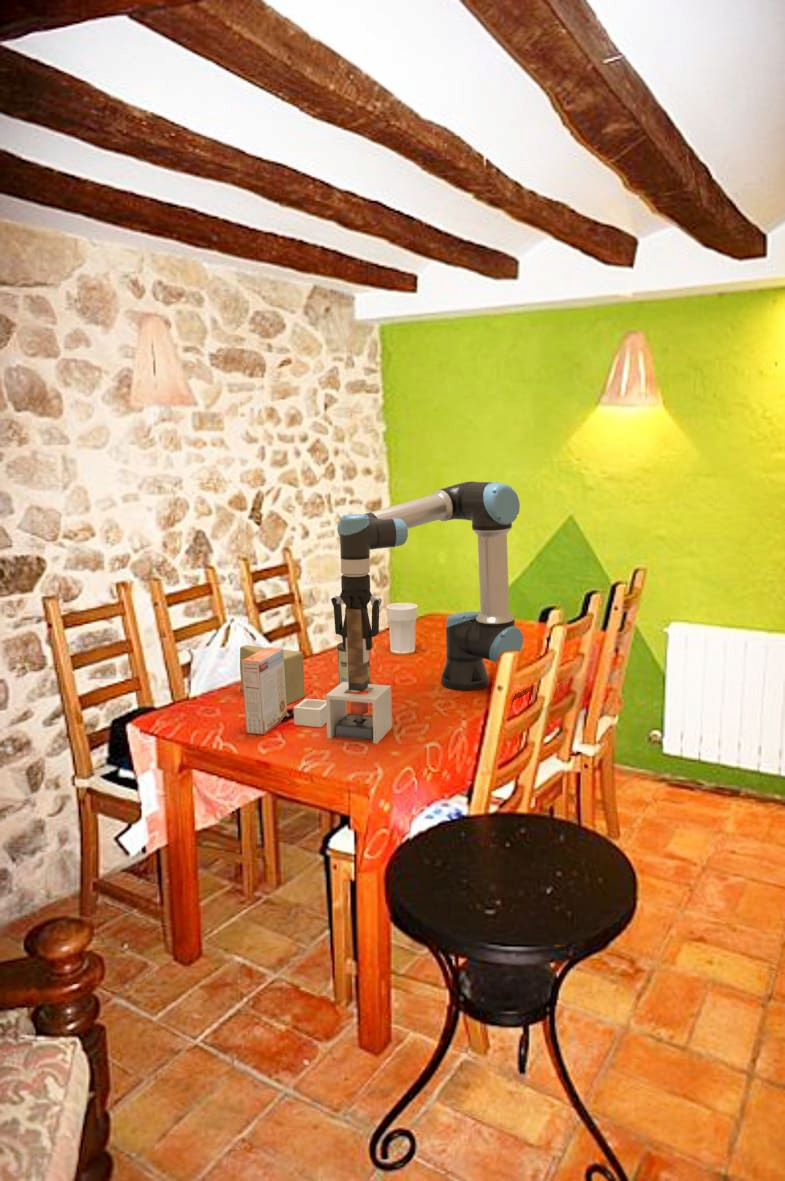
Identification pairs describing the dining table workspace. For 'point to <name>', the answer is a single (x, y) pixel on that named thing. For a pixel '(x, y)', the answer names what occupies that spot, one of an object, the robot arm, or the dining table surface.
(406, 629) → the cup
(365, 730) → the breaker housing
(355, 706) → the red round piece
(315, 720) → the holder
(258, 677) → the cracker box
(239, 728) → the dining table surface
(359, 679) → the brown wooden dowel
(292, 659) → the beige block
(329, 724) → the guard
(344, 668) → the coffee can
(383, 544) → the robot arm
